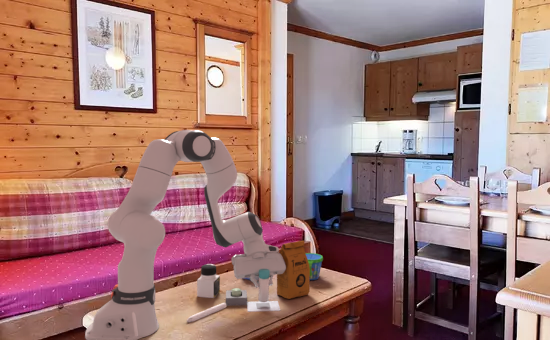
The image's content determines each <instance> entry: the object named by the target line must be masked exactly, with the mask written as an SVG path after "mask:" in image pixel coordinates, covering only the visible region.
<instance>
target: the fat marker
mask: <svg viewBox="0 0 550 340" xmlns="http://www.w3.org/2000/svg"><path fill="white" fill-rule="evenodd" d="M269 276H270V270H269V269H260V270H259V280H258V281H259V284H260V286H259V287H258V301H260V302H267V301H270V299H269V298H270V297H269V295H270V294H269V293H270V291H269V290H270V286H269V280H270V278H269Z"/></svg>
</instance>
